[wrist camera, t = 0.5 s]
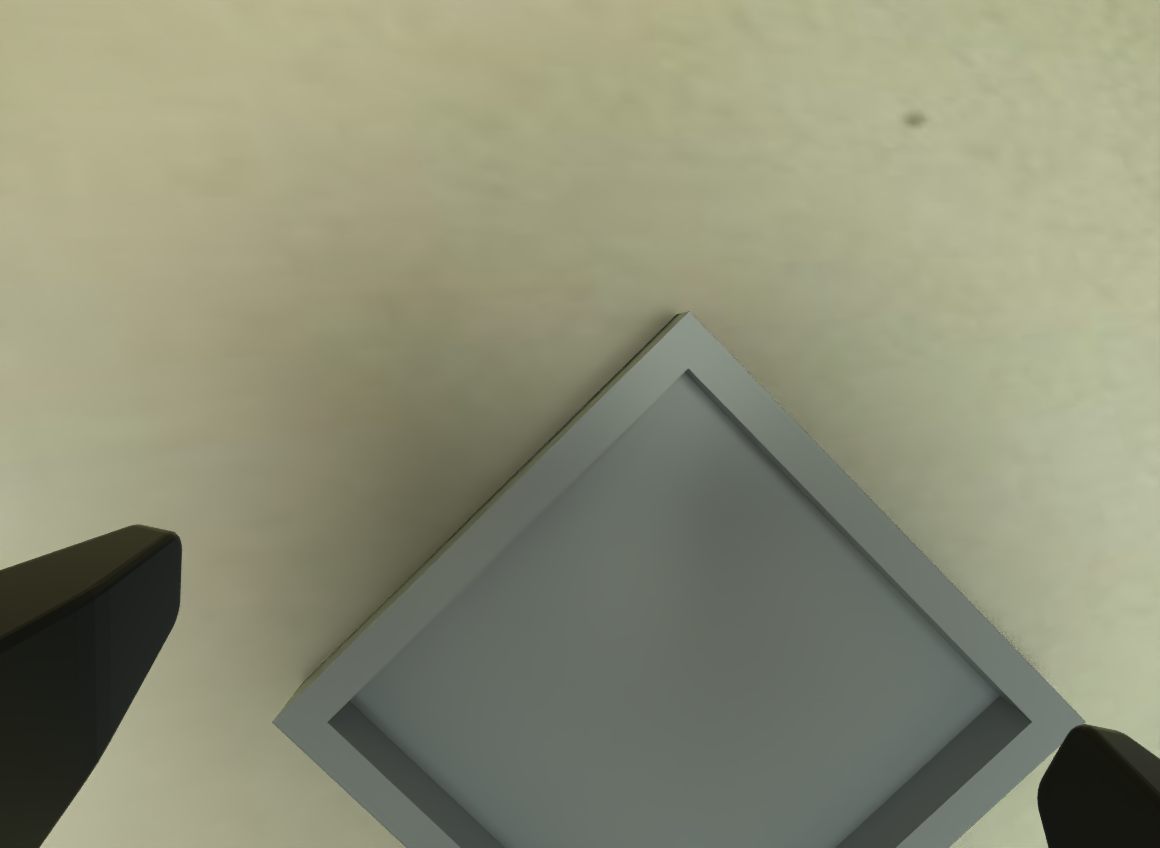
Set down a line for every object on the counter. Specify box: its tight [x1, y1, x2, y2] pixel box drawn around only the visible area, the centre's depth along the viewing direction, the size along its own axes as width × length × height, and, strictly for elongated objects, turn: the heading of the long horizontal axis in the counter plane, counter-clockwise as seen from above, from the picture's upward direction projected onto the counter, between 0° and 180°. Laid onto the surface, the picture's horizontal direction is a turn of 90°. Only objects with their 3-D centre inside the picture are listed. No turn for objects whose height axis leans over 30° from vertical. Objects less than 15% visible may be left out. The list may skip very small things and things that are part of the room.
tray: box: [272, 311, 1085, 848], centre depth 24 cm, size 15×15×2 cm
